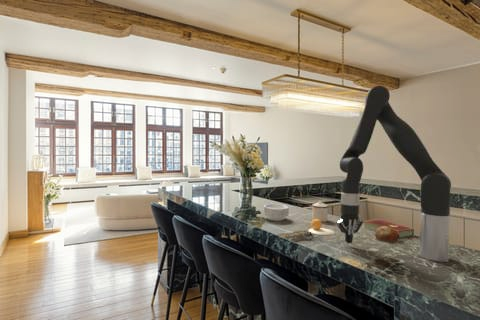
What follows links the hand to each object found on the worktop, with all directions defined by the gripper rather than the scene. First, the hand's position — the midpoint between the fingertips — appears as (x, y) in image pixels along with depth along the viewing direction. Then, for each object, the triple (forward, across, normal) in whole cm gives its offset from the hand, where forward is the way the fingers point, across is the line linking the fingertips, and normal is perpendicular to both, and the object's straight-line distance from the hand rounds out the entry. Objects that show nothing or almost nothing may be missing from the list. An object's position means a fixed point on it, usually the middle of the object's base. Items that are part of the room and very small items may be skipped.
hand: (348, 242), depth 123 cm
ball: (-1, +2, +27) cm, 27 cm away
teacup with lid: (+2, +16, +46) cm, 49 cm away
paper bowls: (+2, -9, +54) cm, 55 cm away
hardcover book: (+2, +36, +15) cm, 39 cm away
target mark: (+2, +2, +22) cm, 23 cm away
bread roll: (+2, +25, +4) cm, 25 cm away
